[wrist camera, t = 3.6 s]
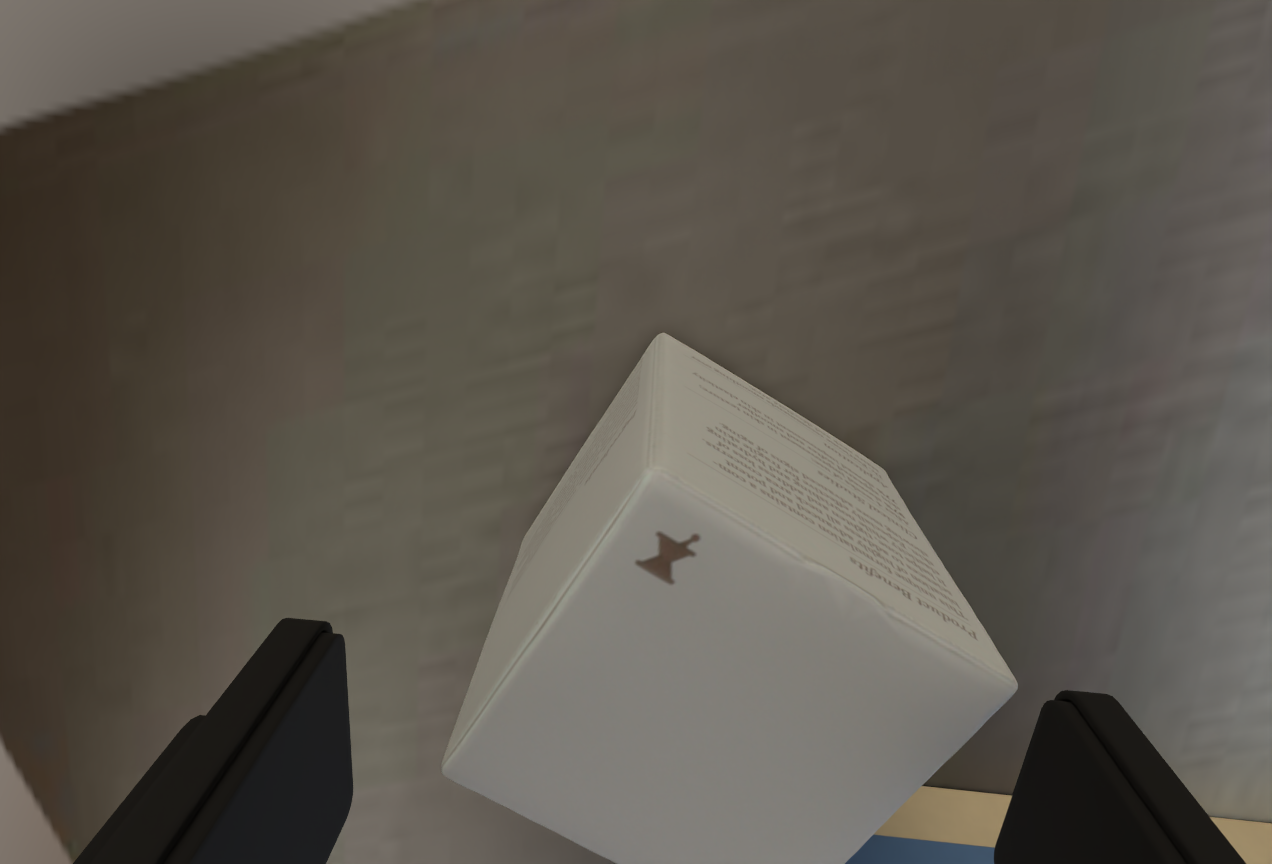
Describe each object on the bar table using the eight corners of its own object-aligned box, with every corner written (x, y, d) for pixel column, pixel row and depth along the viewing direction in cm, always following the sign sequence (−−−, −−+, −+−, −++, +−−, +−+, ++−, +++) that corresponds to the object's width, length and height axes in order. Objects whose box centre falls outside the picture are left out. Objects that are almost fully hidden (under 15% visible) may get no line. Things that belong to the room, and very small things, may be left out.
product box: (517, 536, 18) (420, 776, 11) (661, 320, 16) (648, 453, 10) (735, 661, 19) (765, 953, 12) (895, 471, 17) (1037, 692, 10)
